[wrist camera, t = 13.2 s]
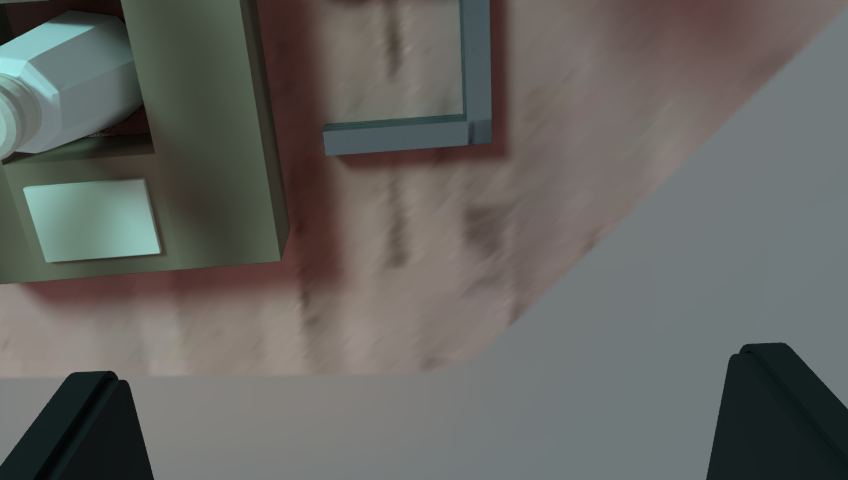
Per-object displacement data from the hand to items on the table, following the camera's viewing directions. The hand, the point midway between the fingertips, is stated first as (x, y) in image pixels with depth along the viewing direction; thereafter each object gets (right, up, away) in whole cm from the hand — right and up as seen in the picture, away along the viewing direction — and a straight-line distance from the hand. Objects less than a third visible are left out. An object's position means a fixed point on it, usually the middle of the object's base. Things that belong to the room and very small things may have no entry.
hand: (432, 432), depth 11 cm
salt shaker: (-16, +11, +22) cm, 29 cm away
